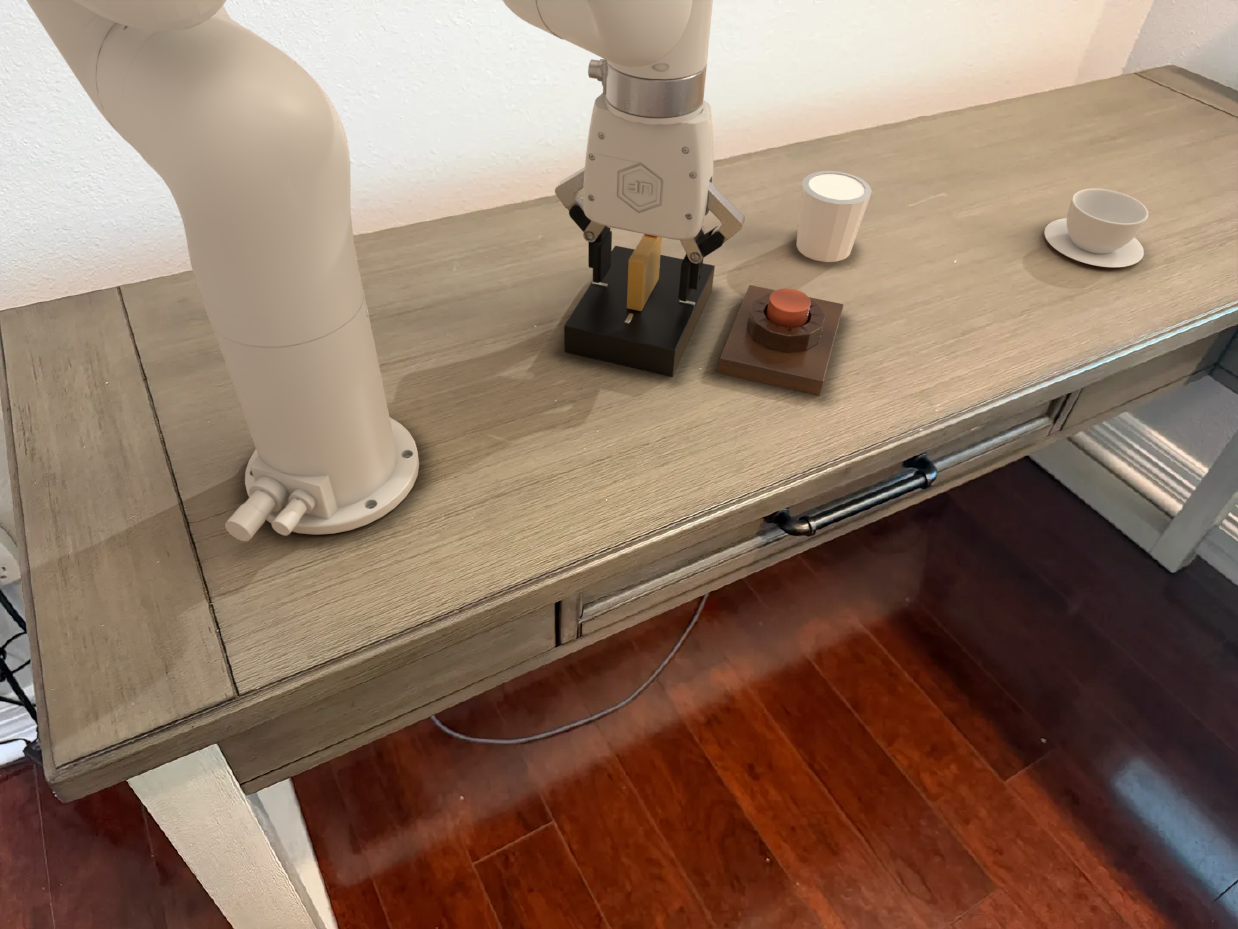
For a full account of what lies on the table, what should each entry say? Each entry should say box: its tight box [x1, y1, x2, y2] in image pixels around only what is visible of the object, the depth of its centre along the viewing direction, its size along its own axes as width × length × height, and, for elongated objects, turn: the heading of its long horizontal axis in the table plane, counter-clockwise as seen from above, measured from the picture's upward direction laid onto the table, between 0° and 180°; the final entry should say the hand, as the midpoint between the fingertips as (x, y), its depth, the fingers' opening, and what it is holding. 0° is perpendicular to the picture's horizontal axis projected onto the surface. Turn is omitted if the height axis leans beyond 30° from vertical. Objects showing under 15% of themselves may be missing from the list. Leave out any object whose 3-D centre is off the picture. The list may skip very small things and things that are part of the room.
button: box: [767, 287, 811, 328], centre depth 78 cm, size 4×4×2 cm
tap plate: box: [563, 245, 716, 378], centre depth 82 cm, size 14×10×3 cm
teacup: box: [1043, 188, 1149, 268], centre depth 93 cm, size 10×10×5 cm
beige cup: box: [795, 170, 872, 263], centre depth 90 cm, size 7×7×7 cm
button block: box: [717, 284, 844, 396], centre depth 80 cm, size 12×9×4 cm
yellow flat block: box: [627, 234, 663, 311], centre depth 79 cm, size 6×1×5 cm, turn 162°
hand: (643, 282), depth 80 cm, fingers open, 7 cm apart
